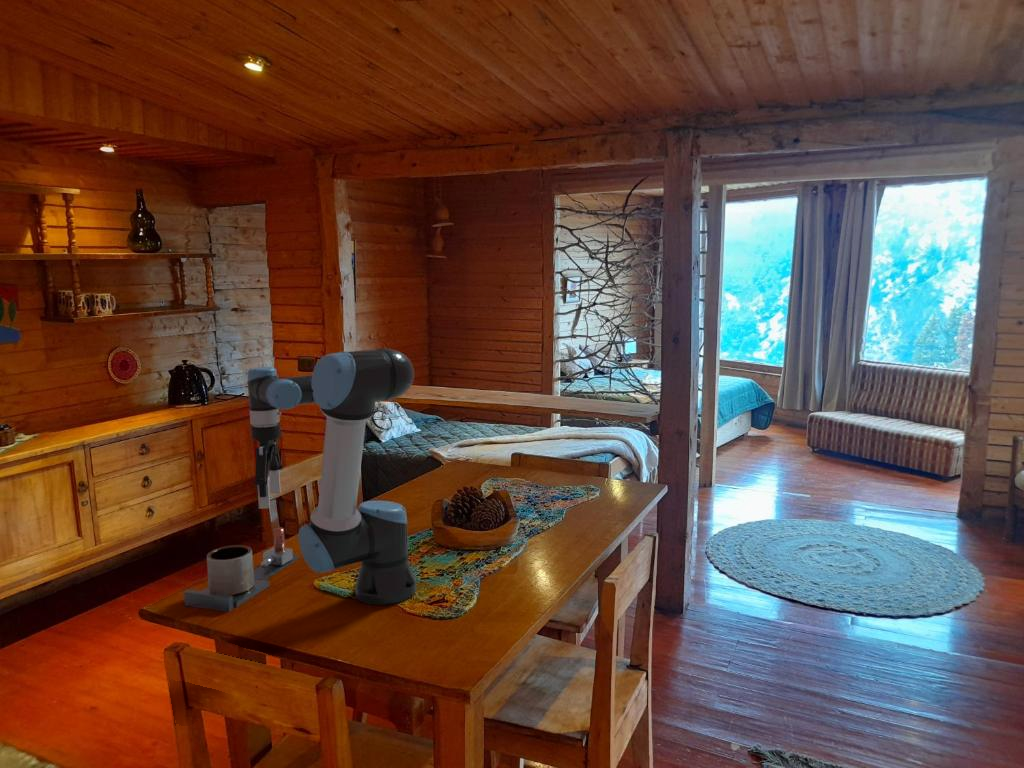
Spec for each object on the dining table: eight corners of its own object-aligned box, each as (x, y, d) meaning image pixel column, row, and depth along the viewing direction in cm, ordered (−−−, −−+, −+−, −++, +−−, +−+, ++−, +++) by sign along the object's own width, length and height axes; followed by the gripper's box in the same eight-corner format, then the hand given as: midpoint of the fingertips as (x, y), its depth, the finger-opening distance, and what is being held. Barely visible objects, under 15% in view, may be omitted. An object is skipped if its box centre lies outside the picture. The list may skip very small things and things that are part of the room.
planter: (257, 591, 183) (255, 555, 182) (211, 601, 178) (208, 563, 177) (251, 576, 192) (249, 541, 191) (207, 585, 187) (204, 549, 186)
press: (229, 611, 175) (228, 598, 174) (185, 605, 179) (183, 591, 178) (309, 559, 207) (309, 547, 206) (270, 554, 211) (270, 543, 210)
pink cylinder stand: (273, 570, 197) (271, 539, 195) (254, 568, 198) (252, 537, 197) (292, 558, 205) (291, 528, 204) (274, 556, 207) (272, 526, 206)
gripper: (269, 433, 185) (274, 514, 188) (288, 415, 209) (292, 486, 212) (238, 434, 184) (244, 515, 187) (261, 416, 209) (266, 487, 212)
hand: (270, 500), depth 200 cm, fingers open, 13 cm apart
